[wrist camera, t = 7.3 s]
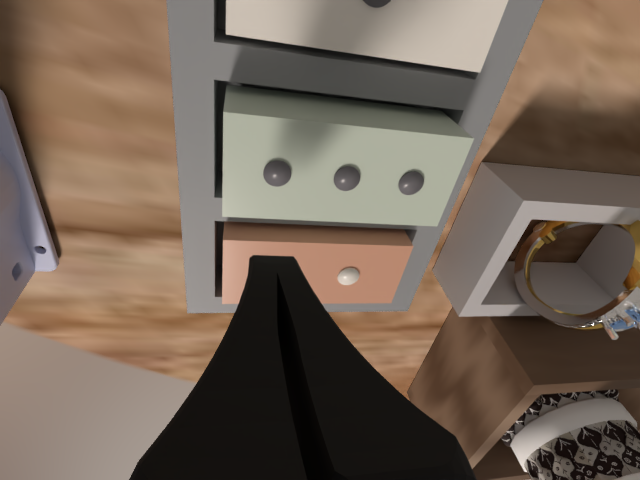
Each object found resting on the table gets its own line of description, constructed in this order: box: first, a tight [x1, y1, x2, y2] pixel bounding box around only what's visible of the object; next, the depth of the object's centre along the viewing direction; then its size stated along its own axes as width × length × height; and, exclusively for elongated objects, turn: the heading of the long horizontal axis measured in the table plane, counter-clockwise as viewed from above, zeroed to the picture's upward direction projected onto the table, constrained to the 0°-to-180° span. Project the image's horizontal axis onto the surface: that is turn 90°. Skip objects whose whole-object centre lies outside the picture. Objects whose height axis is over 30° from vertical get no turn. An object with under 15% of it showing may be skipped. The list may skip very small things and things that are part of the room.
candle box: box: [407, 308, 640, 480], centre depth 29 cm, size 14×14×8 cm
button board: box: [167, 0, 543, 313], centre depth 17 cm, size 19×13×3 cm, turn 170°
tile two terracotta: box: [222, 221, 414, 304], centre depth 20 cm, size 4×9×3 cm, turn 81°
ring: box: [514, 220, 640, 340], centre depth 21 cm, size 7×3×8 cm, turn 136°
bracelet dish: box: [432, 162, 640, 317], centre depth 23 cm, size 8×12×4 cm, turn 81°
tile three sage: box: [222, 85, 474, 227], centre depth 15 cm, size 4×9×3 cm, turn 80°
